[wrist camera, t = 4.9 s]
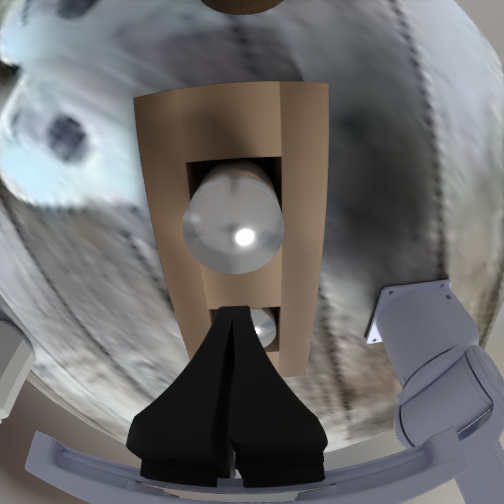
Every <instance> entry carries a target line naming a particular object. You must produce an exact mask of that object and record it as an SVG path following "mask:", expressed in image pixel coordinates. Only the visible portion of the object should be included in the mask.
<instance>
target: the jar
mask: <svg viewBox="0 0 504 504" xmlns="http://www.w3.org/2000/svg"><path fill="white" fill-rule="evenodd" d="M35 359H36V358H35V352H34V349H33V346H32V344H31V343H30V341H29V340H28V339H27V337H26V336H25V335H24V334H23V333H22V332H21V331H20V330H19V329H18V328H17V327H16V326H14V325H13V324H11V323H9V322H8V321H0V424H1V422H2V421H1V419H3V418H6V417H8V416H9V413H10V411H11V409H12V406H13V404H14V402H15V400H16V398H17V395H18V393H19V391H20V389H21V387H22V385H23V383H24V381H25V379H26V377H27V375H28V373H29V371H30V369H31V367H32V365H33V363H34V361H35Z"/></svg>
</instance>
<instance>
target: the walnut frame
mask: <svg viewBox="0 0 504 504" xmlns="http://www.w3.org/2000/svg"><path fill="white" fill-rule="evenodd" d="M133 100H134V111H135V120H136V129H137V137H138V145H139V152H140V159H141V166H142V172H143V178H144V184H145V190H146V195H147V201H148V206H149V211H150V216H151V221H152V225H153V230H154V235H155V239H156V243H157V248H158V252H159V256H160V260H161V264H162V268H163V272H164V276H165V280H166V283H167V287H168V291H169V294H170V298H171V301H172V305H173V308H174V311H175V315H176V318H177V321H178V325H179V328H180V331H181V334H182V337H183V340H184V343H185V346H186V349H187V352H188V355H189V358H190V361H191V359H192V358H193V356H194V355H195V353H196V351H197V350H198V348H199V347H200V345H201V344H202V342H203V340H204V338H205V336H206V334H207V333H208V331H209V329H210V327H211V325H212V323H213V321H214V318H215V316H216V314H217V311H218V308H219V307H221V306H244V305H248V306H249V307H250V308H259V307H275V311H274V317H275V326H276V335H275V338H274V340H273V341H272V342H271V343H270V344H269V345H268V346H266V347H264V350H265V352H266V354H267V355H268V357H269V359H270V361H271V362H272V364H273V366H274V367H275V369H276V370H277V372H278V373H279V375H280V376H281V377H292V376H303V375H305V372H306V367H307V361H308V356H309V350H310V344H311V337H312V331H313V324H314V318H315V310H316V303H317V295H318V287H319V279H320V270H321V261H322V251H323V240H324V228H325V215H326V200H327V181H328V154H329V87H328V83H316V82H295V81H259V82H237V83H223V84H213V85H204V86H196V87H188V88H181V89H175V90H169V91H164V92H158V93H153V94H148V95H144V96H139V97H135V98H133ZM249 157H273V161H274V190H275V193H276V196H277V200H278V203H279V206H280V209H281V213H282V216H283V220H284V229H285V230H284V238H283V242H282V244H281V247H280V249H279V250H278V252H277V254H276V255H275V256H274V257H273V258H272V259H271V260H270V261H269V262H268V263H267V264H266V265H264V266H262V267H261V268H259V269H257V270H255V271H252V272H248V273H244V274H225V273H220V272H217V271H214V270H211V269H209V268H207V267H206V266H204V265H203V264H201V263H200V262H199V261H197V260H196V259H195V257H194V256H193V255H192V254H191V253H190V251H189V250H188V248H187V246H186V244H185V241H184V237H183V232H182V222H183V217H184V214H185V211H186V209H187V207H188V205H189V203H190V201H191V200H192V198H193V196H194V194H195V193H196V191H197V189H198V187H199V186H200V184H201V182H202V180H203V179H204V176H203V166H202V161H205V160H217V159H231V158H249Z"/></svg>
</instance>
